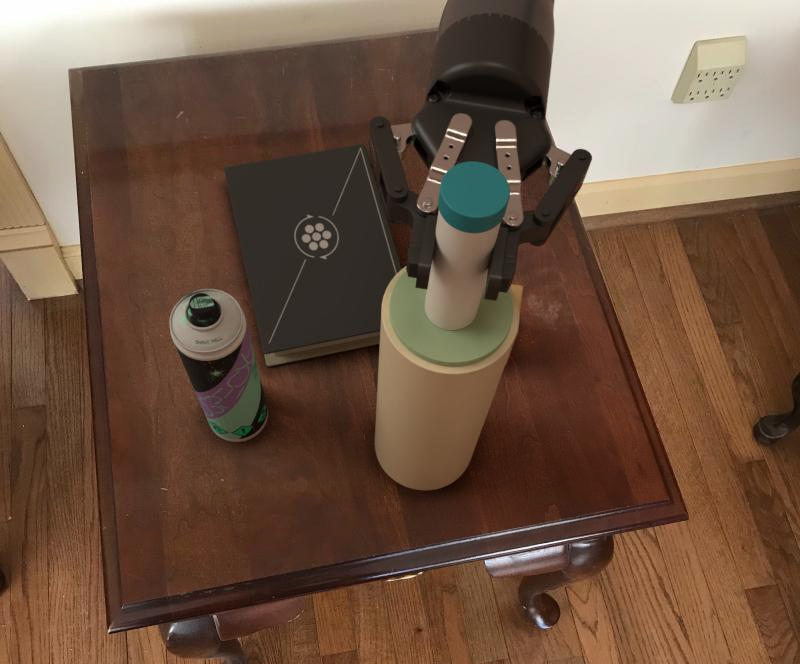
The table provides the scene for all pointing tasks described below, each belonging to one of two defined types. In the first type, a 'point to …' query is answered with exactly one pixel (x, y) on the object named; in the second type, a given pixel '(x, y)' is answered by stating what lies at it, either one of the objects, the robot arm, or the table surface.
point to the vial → (464, 241)
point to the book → (313, 251)
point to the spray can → (220, 362)
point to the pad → (444, 343)
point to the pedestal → (431, 407)
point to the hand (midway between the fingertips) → (458, 285)
